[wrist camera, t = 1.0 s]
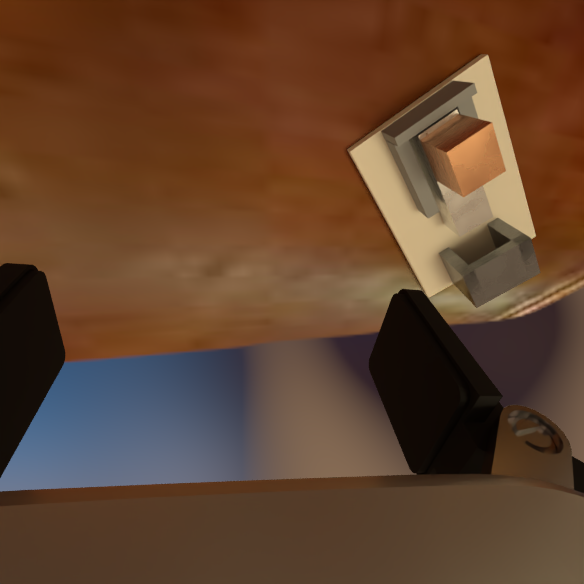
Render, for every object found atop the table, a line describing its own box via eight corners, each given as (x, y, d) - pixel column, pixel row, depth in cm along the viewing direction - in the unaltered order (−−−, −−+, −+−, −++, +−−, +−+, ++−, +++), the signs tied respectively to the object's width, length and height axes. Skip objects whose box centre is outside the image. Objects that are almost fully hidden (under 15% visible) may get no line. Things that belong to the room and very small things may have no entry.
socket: (497, 217, 37) (530, 237, 33) (508, 250, 40) (540, 272, 36) (438, 253, 39) (462, 276, 35) (452, 282, 41) (476, 307, 37)
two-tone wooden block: (439, 104, 30) (490, 116, 24) (475, 205, 36) (524, 236, 30) (403, 129, 31) (444, 147, 25) (444, 224, 37) (486, 258, 31)
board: (480, 54, 30) (513, 54, 26) (529, 232, 40) (557, 249, 37) (346, 149, 33) (360, 160, 29) (424, 293, 43) (441, 313, 39)
